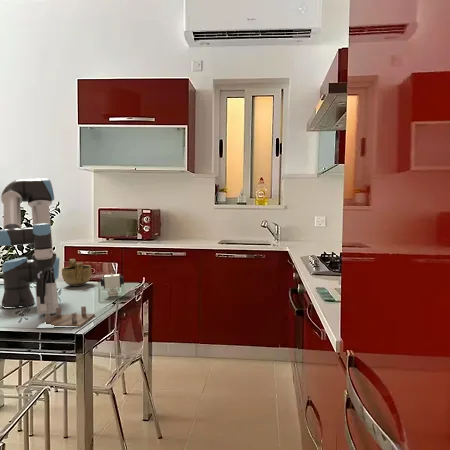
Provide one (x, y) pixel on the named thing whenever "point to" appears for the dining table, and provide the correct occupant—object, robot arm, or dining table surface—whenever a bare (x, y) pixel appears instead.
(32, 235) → the robot arm
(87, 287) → the dining table surface
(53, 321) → the stub plate
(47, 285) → the supplement box
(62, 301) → the dining table surface
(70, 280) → the tan woven basket
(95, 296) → the dining table surface
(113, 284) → the pneumatic valve
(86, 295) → the dining table surface
